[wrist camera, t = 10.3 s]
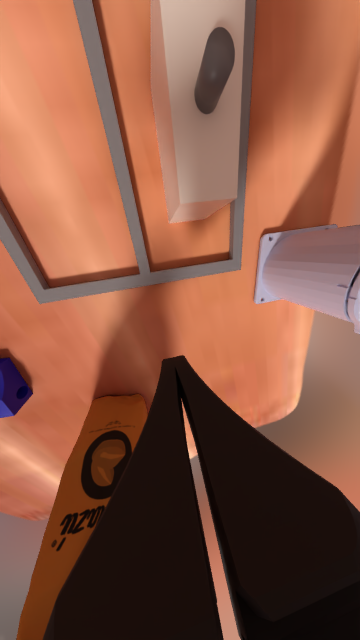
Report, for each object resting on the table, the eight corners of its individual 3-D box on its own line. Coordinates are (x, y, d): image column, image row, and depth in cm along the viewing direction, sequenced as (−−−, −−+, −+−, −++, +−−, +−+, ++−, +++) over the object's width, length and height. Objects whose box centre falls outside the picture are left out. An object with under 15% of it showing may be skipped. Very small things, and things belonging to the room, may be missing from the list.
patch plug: (199, 90, 10) (283, -199, 4) (204, 219, 14) (252, 187, 7) (150, 90, 10) (150, -231, 3) (168, 223, 14) (185, 194, 7)
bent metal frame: (249, -12, 9) (258, -34, 8) (236, 269, 17) (240, 269, 16) (-154, -40, 7) (-190, -74, 6) (45, 301, 14) (39, 303, 14)
